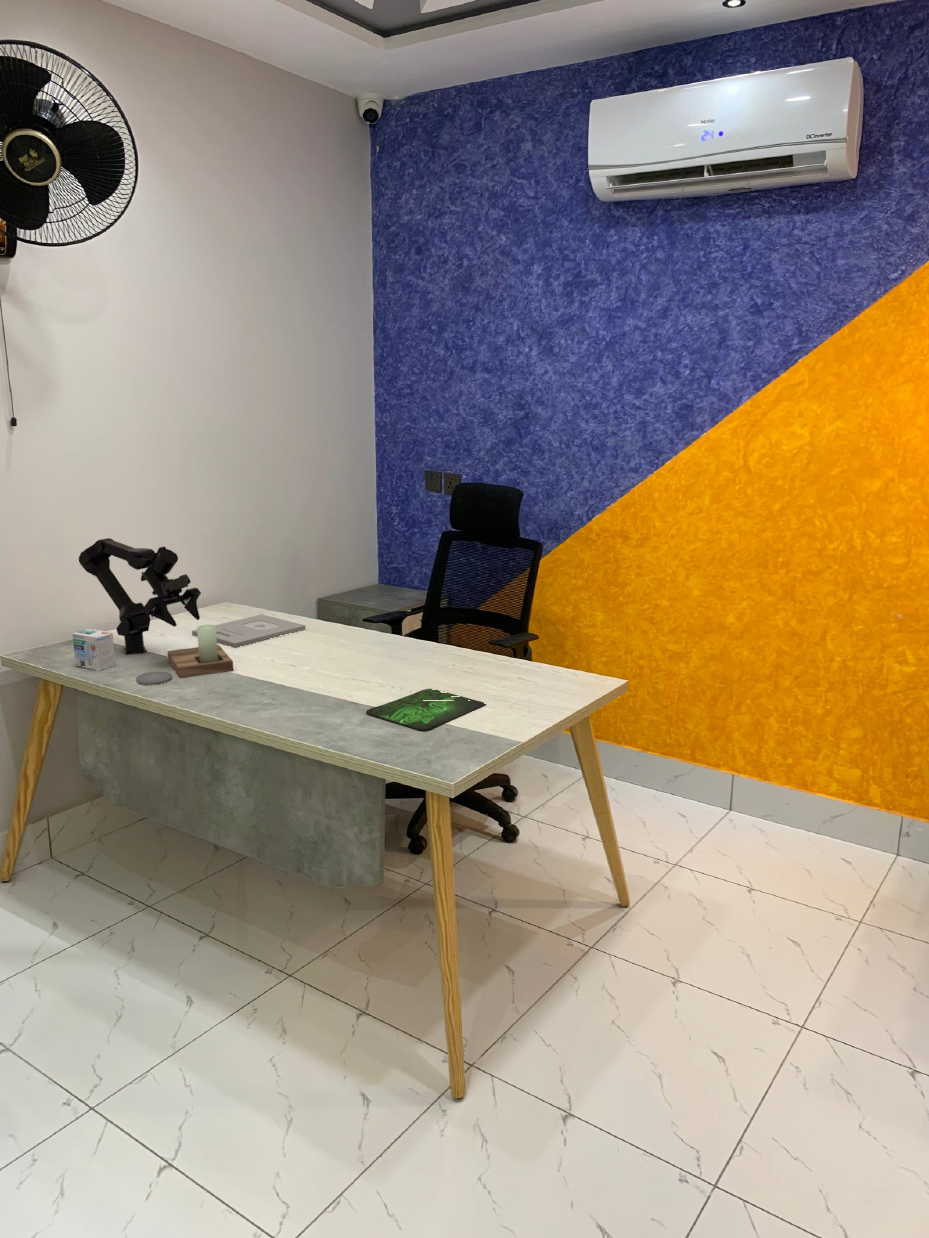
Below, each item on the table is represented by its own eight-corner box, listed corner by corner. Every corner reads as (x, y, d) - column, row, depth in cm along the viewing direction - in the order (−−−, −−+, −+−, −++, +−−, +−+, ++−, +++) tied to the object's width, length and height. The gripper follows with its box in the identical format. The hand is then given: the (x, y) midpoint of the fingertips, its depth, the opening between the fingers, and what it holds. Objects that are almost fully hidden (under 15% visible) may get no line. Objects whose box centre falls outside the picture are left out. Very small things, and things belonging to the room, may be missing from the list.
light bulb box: (75, 666, 283) (71, 632, 280) (92, 660, 289) (89, 627, 286) (99, 671, 278) (95, 637, 275) (116, 665, 284) (113, 632, 281)
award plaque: (192, 636, 317) (191, 630, 317) (262, 619, 340) (261, 614, 339) (235, 649, 302) (235, 643, 302) (305, 631, 324) (305, 625, 324)
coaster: (134, 677, 272) (133, 674, 272) (168, 672, 277) (168, 669, 276) (138, 687, 264) (138, 684, 263) (174, 682, 268) (174, 679, 268)
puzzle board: (168, 660, 289) (167, 651, 288) (219, 653, 296) (218, 644, 295) (179, 677, 272) (178, 668, 271) (233, 670, 279) (232, 661, 278)
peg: (198, 666, 283) (195, 626, 279) (216, 664, 285) (213, 623, 282) (202, 671, 278) (198, 630, 274) (220, 669, 280) (217, 628, 277)
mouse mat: (429, 688, 263) (429, 685, 263) (490, 704, 250) (490, 701, 250) (362, 715, 243) (362, 711, 242) (424, 734, 229) (424, 730, 229)
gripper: (146, 572, 273) (175, 613, 270) (194, 562, 288) (222, 601, 285) (131, 594, 279) (158, 635, 276) (179, 583, 294) (205, 621, 291)
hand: (187, 622), depth 282 cm, fingers open, 9 cm apart
